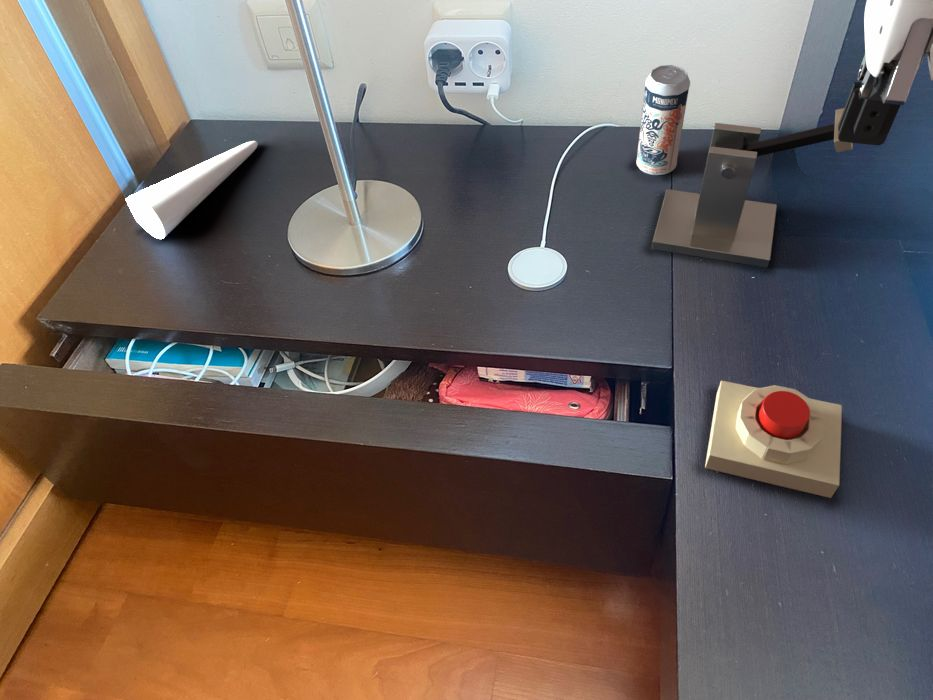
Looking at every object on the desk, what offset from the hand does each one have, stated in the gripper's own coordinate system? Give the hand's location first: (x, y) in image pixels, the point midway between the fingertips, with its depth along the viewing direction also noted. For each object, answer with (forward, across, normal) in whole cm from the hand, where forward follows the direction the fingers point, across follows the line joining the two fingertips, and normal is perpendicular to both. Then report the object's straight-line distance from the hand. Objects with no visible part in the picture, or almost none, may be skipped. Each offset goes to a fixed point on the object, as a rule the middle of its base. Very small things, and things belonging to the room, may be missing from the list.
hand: (859, 136), depth 55 cm
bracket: (+21, +11, +8) cm, 25 cm away
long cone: (+22, +6, +69) cm, 72 cm away
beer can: (+21, +21, +16) cm, 34 cm away
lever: (+10, +11, +3) cm, 15 cm away
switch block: (+21, -15, +1) cm, 26 cm away
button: (+17, -15, +1) cm, 23 cm away
